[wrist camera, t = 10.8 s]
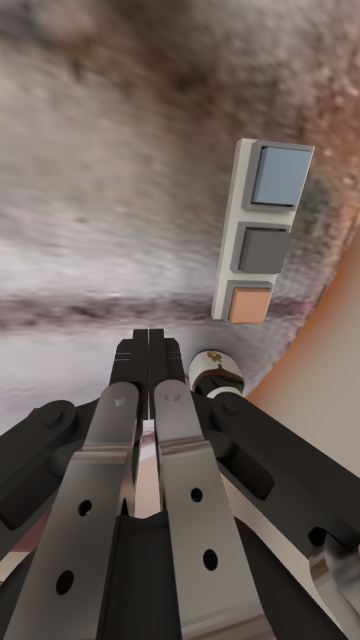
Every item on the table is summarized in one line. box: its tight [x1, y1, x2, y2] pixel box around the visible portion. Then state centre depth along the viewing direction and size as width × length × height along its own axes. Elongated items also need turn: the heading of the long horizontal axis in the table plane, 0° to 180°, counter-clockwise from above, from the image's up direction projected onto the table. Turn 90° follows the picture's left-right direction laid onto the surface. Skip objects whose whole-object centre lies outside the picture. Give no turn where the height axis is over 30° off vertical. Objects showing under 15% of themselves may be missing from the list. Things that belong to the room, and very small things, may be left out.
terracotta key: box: [228, 287, 271, 323], centre depth 37 cm, size 6×6×2 cm
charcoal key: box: [239, 229, 292, 273], centre depth 32 cm, size 6×6×2 cm
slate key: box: [251, 147, 312, 205], centre depth 28 cm, size 6×6×2 cm
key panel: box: [211, 138, 315, 323], centre depth 34 cm, size 26×10×4 cm, turn 176°
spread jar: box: [185, 350, 245, 398], centre depth 43 cm, size 12×11×12 cm
